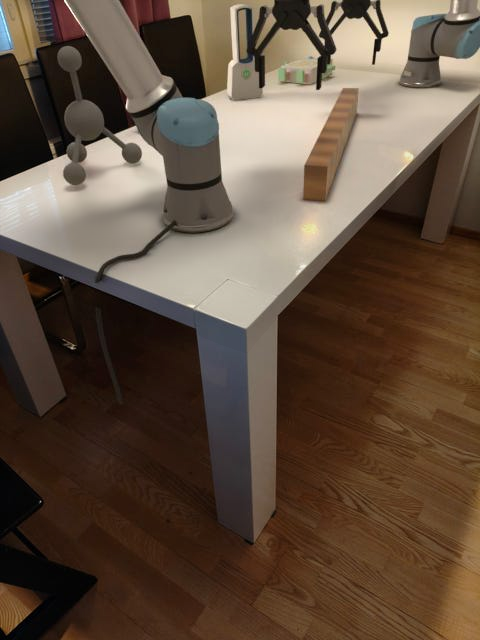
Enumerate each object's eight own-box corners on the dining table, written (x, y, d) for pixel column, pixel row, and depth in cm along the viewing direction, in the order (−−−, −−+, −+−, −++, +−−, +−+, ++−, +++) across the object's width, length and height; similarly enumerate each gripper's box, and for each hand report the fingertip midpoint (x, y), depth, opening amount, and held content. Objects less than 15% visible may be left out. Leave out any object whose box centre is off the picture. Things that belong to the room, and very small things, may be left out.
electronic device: (231, 100, 184) (226, 7, 166) (227, 96, 190) (221, 5, 172) (263, 96, 187) (261, 4, 168) (257, 92, 192) (255, 2, 174)
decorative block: (301, 54, 217) (341, 57, 207) (300, 70, 221) (340, 74, 211) (269, 65, 201) (312, 69, 191) (269, 82, 205) (311, 87, 195)
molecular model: (153, 175, 128) (132, 46, 109) (67, 191, 122) (30, 58, 104) (135, 149, 145) (114, 34, 127) (59, 162, 140) (26, 43, 121)
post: (325, 201, 111) (327, 166, 106) (303, 199, 112) (304, 165, 107) (356, 113, 164) (358, 88, 159) (340, 113, 165) (342, 87, 160)
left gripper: (354, -25, 101) (345, 85, 114) (240, -22, 108) (243, 82, 121) (350, -23, 96) (340, 93, 109) (230, -20, 102) (234, 90, 115)
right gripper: (404, -23, 136) (393, 61, 150) (315, -20, 143) (312, 61, 156) (403, -21, 131) (392, 66, 144) (311, -18, 137) (308, 66, 150)
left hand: (289, 88), depth 115 cm, fingers open, 13 cm apart
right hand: (350, 63), depth 150 cm, fingers open, 13 cm apart
